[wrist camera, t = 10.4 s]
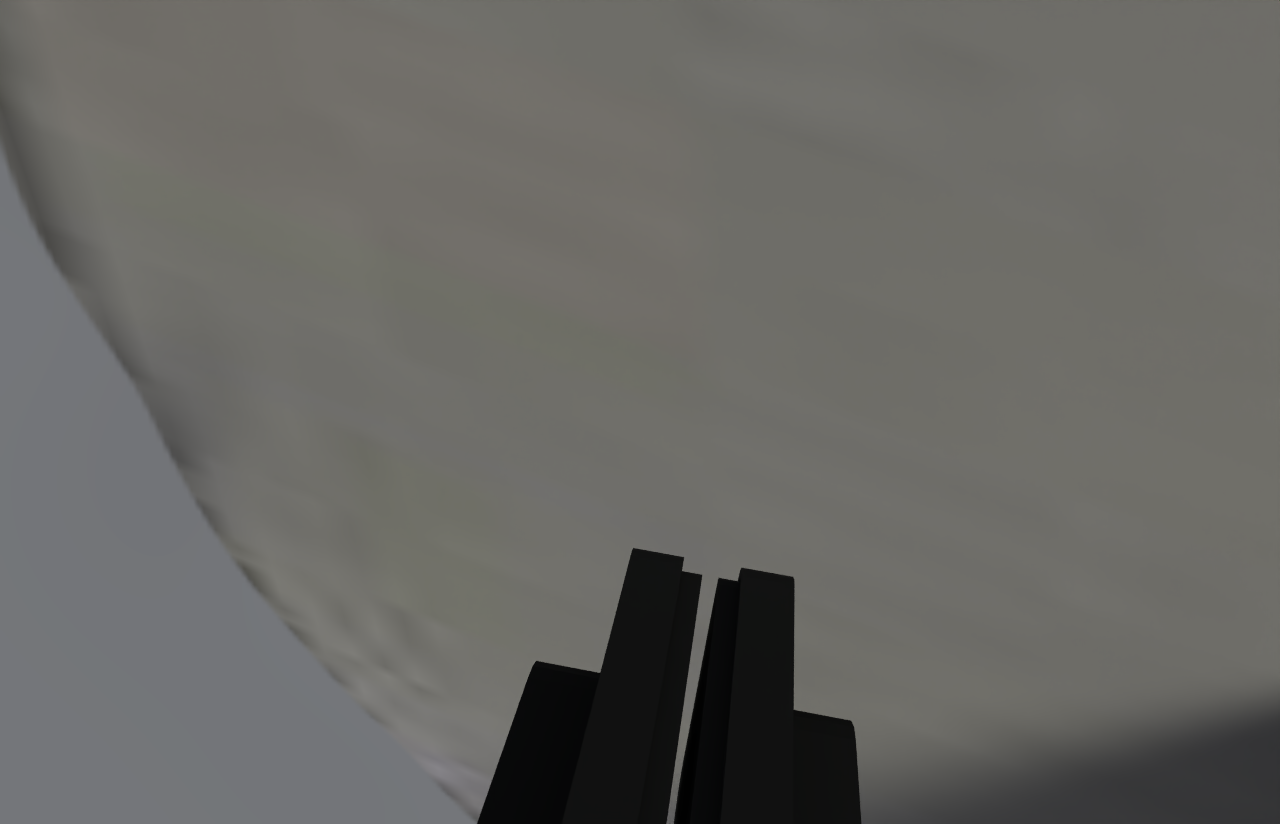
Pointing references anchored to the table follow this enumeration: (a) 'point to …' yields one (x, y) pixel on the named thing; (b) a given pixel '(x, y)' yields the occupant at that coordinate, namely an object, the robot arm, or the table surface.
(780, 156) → the table surface
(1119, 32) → the table surface
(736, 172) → the table surface
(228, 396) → the table surface
